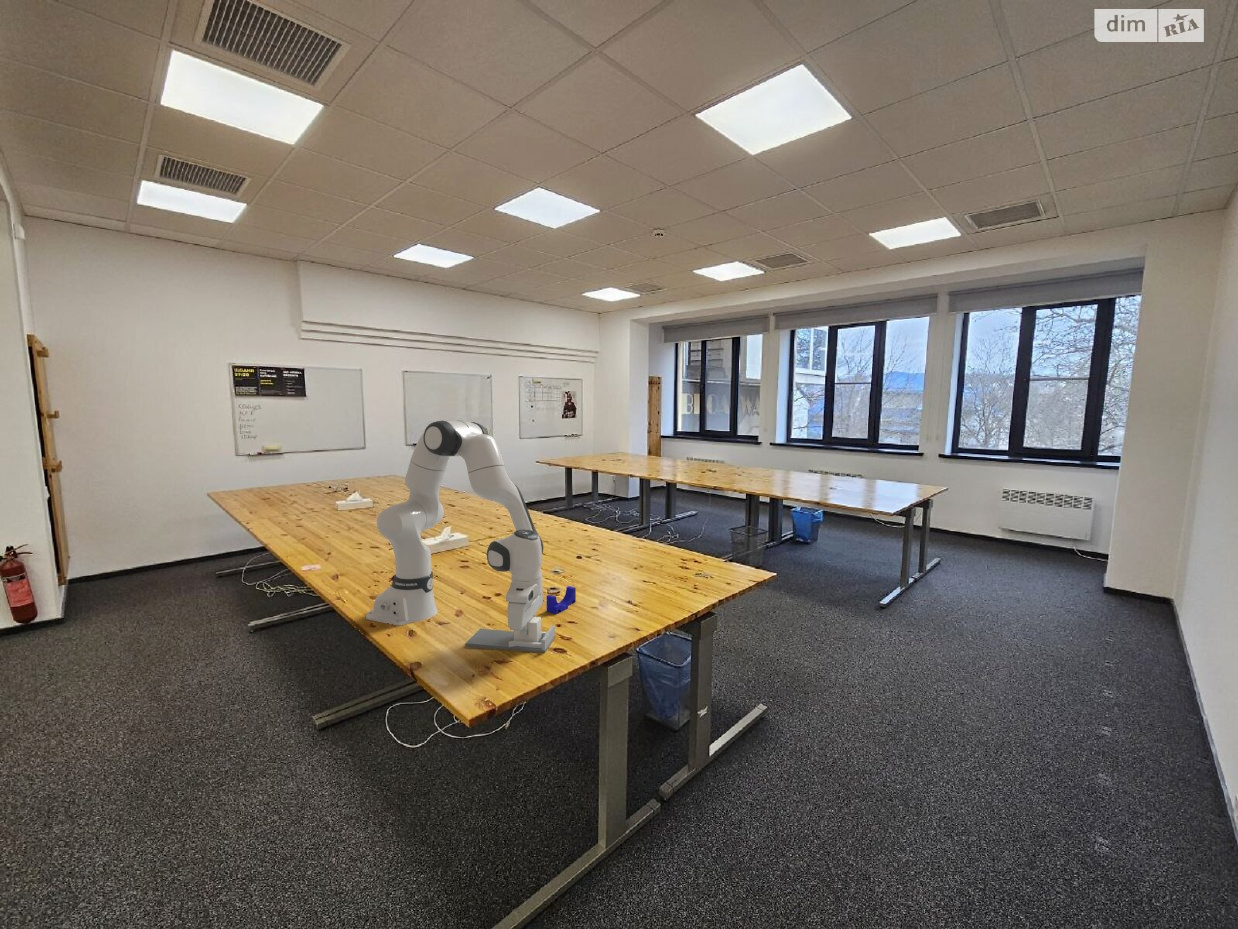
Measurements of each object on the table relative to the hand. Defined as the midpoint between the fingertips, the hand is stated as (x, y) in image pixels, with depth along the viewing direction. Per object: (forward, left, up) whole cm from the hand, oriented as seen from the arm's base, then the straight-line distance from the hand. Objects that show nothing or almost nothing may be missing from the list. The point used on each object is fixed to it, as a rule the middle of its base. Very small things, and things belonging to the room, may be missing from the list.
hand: (527, 631), depth 147 cm
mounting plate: (-5, 0, -4) cm, 6 cm away
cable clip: (+3, +28, -4) cm, 29 cm away
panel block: (0, 0, -2) cm, 2 cm away
